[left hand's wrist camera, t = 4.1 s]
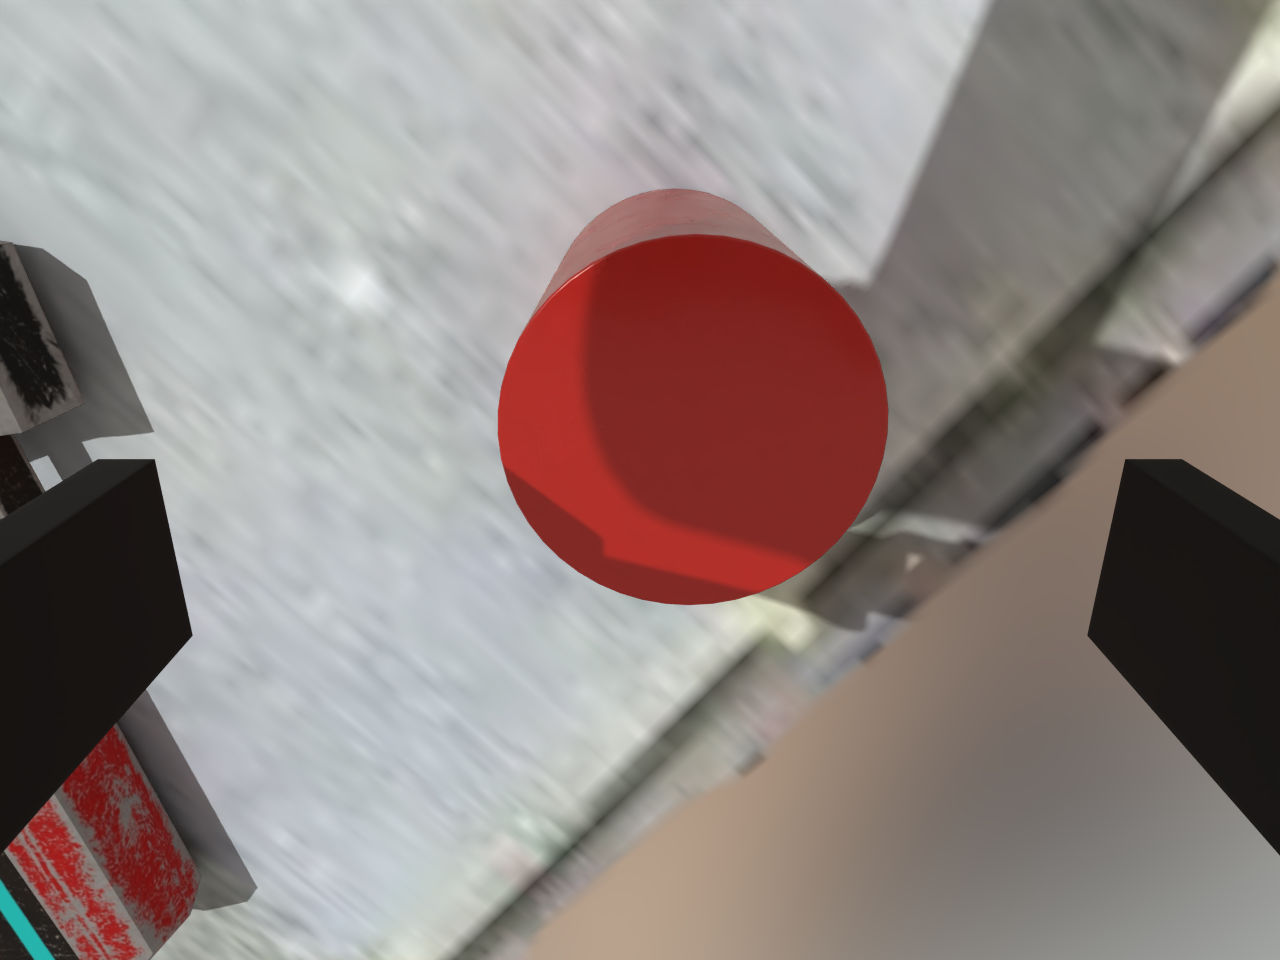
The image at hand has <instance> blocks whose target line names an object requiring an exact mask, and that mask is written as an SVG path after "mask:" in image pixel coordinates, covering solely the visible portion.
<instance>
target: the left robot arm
mask: <svg viewBox="0 0 1280 960" xmlns="http://www.w3.org/2000/svg"><path fill="white" fill-rule="evenodd" d="M192 636H193V635H192V630H191V626H190V621H189V616H188V612H187V607H186V602H185V598H184V593H183V589H182V584H181V579H180V575H179V570H178V565H177V561H176V556H175V551H174V547H173V542H172V537H171V533H170V528H169V523H168V519H167V514H166V510H165V505H164V500H163V496H162V491H161V486H160V482H159V477H158V472H157V468H156V463H155V459H98V460H96V461H94V462H93V463H91V464H90V465H88V466H86V467H85V468H83V469H82V470H80V471H78V472H77V473H75V474H73V475H72V476H70V477H69V478H67V479H65V480H64V481H62V482H61V483H59V484H57V485H56V486H54V487H52V488H51V489H49V490H48V491H46V492H44V493H43V494H41V495H39V496H38V497H36V498H35V499H33V500H31V501H30V502H28V503H27V504H25V505H23V506H22V507H20V508H18V509H17V510H15V511H14V512H12V513H10V514H9V515H7V516H5V517H4V518H2V519H1V520H0V855H1V854H2V853H3V852H4V850H5V849H6V848H7V847H8V846H9V845H10V844H11V842H12V841H13V840H14V839H15V838H16V837H17V836H18V834H19V833H20V832H21V831H22V830H23V829H24V828H25V826H26V825H27V824H28V823H29V822H30V821H31V820H32V818H33V817H34V816H35V815H36V814H37V813H38V812H39V810H40V809H41V808H42V807H43V806H44V805H45V804H46V802H47V801H48V800H49V799H50V798H51V797H52V796H53V794H54V793H55V792H56V791H57V790H58V789H59V788H60V786H61V785H62V784H63V783H64V782H65V781H66V780H67V778H68V777H69V776H70V775H71V774H72V773H73V772H74V770H75V769H76V768H77V767H78V766H79V765H80V764H81V762H82V761H83V760H84V759H85V758H86V757H87V756H88V754H89V753H90V752H91V751H92V750H93V749H94V748H95V746H96V745H97V744H98V743H99V742H100V741H101V740H102V738H103V737H104V736H105V735H106V734H107V733H108V732H109V730H110V729H111V728H112V727H113V726H114V725H115V724H116V722H117V721H118V720H119V719H120V718H121V717H122V716H123V714H124V713H125V712H126V711H127V710H128V709H129V708H130V706H131V705H132V704H133V703H134V702H135V701H136V700H137V698H138V697H139V696H140V695H141V694H142V693H143V692H144V690H145V689H146V688H147V687H148V686H149V685H150V684H151V682H152V681H153V680H154V679H155V678H156V677H157V676H158V674H159V673H160V672H161V671H162V670H163V669H164V668H165V666H166V665H167V664H168V663H169V662H170V661H171V660H172V658H173V657H174V656H175V655H176V654H177V653H178V652H179V650H180V649H181V648H182V647H183V646H184V645H185V644H186V642H187V641H188V640H189V639H190V638H191V637H192ZM1088 637H1089V638H1090V639H1091V640H1092V641H1093V642H1094V644H1095V645H1096V646H1097V647H1098V648H1099V649H1100V650H1101V652H1102V653H1103V654H1104V655H1105V656H1106V657H1107V658H1108V660H1109V661H1110V662H1111V663H1112V664H1113V665H1114V666H1115V668H1116V669H1117V670H1118V671H1119V672H1120V673H1121V674H1122V676H1123V677H1124V678H1125V679H1126V680H1127V681H1128V682H1129V684H1130V685H1131V686H1132V687H1133V688H1134V689H1135V690H1136V692H1137V693H1138V694H1139V695H1140V696H1141V697H1142V698H1143V700H1144V701H1145V702H1146V703H1147V704H1148V705H1149V706H1150V707H1151V709H1152V710H1153V711H1154V712H1155V713H1156V714H1157V716H1158V717H1159V718H1160V719H1161V720H1162V721H1163V722H1164V724H1165V725H1166V726H1167V727H1168V728H1169V729H1170V730H1171V732H1172V733H1173V734H1174V735H1175V736H1176V737H1177V738H1178V739H1179V741H1180V742H1181V743H1182V744H1183V745H1184V746H1185V748H1186V749H1187V750H1188V751H1189V752H1190V753H1191V754H1192V756H1193V757H1194V758H1195V759H1196V760H1197V761H1198V762H1199V764H1200V765H1201V766H1202V767H1203V768H1204V769H1205V770H1206V772H1207V773H1208V774H1209V775H1210V776H1211V777H1212V778H1213V780H1214V781H1215V782H1216V783H1217V784H1218V785H1219V786H1220V788H1221V789H1222V790H1223V791H1224V792H1225V793H1226V794H1227V796H1228V797H1229V798H1230V799H1231V800H1232V801H1233V802H1234V804H1235V805H1236V806H1237V807H1238V808H1239V809H1240V810H1241V812H1242V813H1243V814H1244V815H1245V816H1246V817H1247V818H1248V820H1249V821H1250V822H1251V823H1252V824H1253V825H1254V826H1255V828H1256V829H1257V830H1258V831H1259V832H1260V833H1261V834H1262V836H1263V837H1264V838H1265V839H1266V840H1267V841H1268V842H1269V844H1270V845H1271V846H1272V847H1273V848H1274V849H1275V850H1276V852H1277V853H1278V854H1279V855H1280V520H1279V519H1278V518H1276V517H1275V516H1273V515H1271V514H1270V513H1268V512H1266V511H1265V510H1263V509H1262V508H1260V507H1258V506H1257V505H1255V504H1253V503H1252V502H1250V501H1249V500H1247V499H1245V498H1244V497H1242V496H1241V495H1239V494H1237V493H1236V492H1234V491H1232V490H1231V489H1229V488H1227V487H1226V486H1224V485H1223V484H1221V483H1219V482H1218V481H1216V480H1215V479H1213V478H1211V477H1210V476H1208V475H1206V474H1205V473H1203V472H1202V471H1200V470H1198V469H1197V468H1195V467H1194V466H1192V465H1190V464H1189V463H1187V462H1186V461H1184V460H1182V459H1126V460H1125V463H1124V468H1123V473H1122V477H1121V482H1120V487H1119V491H1118V496H1117V500H1116V505H1115V510H1114V514H1113V519H1112V523H1111V528H1110V533H1109V538H1108V542H1107V547H1106V551H1105V556H1104V561H1103V565H1102V570H1101V575H1100V579H1099V584H1098V589H1097V593H1096V598H1095V602H1094V607H1093V612H1092V616H1091V621H1090V626H1089V630H1088Z"/></svg>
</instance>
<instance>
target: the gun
mask: <svg viewBox="0 0 1280 960" xmlns="http://www.w3.org/2000/svg"><path fill="white" fill-rule="evenodd" d="M83 404H85V402H84V400H83V398H82V396H81V394H80V391H79V389H78V387H77V385H76V383H75V381H74V378H73V376H72V374H71V372H70V370H69V367H68V365H67V363H66V361H65V359H64V356H63V354H62V352H61V350H60V348H59V346H58V343H57V341H56V339H55V337H54V335H53V332H52V330H51V328H50V326H49V324H48V321H47V319H46V317H45V315H44V313H43V310H42V308H41V306H40V304H39V301H38V299H37V297H36V294H35V292H34V290H33V288H32V285H31V283H30V281H29V279H28V276H27V274H26V272H25V270H24V267H23V265H22V263H21V261H20V258H19V256H18V254H17V252H16V249H15V247H14V245H13V243H12V242H5V241H0V520H1V519H2V518H4V517H5V516H7V515H9V514H10V513H12V512H14V511H15V510H17V509H18V508H20V507H22V506H23V505H25V504H27V503H28V502H30V501H31V500H33V499H35V498H36V497H38V496H39V495H41V494H43V493H44V492H45V490H44V488H43V486H42V484H41V483H40V481H39V479H38V477H37V475H36V474H35V472H34V470H33V468H32V466H31V464H30V463H29V461H28V459H27V457H26V455H25V453H24V452H23V450H22V448H21V446H20V444H19V443H18V441H17V439H16V437H15V435H14V434H16V433H23V432H25V431H27V430H29V429H31V428H33V427H36V426H38V425H40V424H42V423H44V422H46V421H48V420H51V419H53V418H55V417H57V416H59V415H61V414H63V413H65V412H68V411H70V410H72V409H74V408H76V407H78V406H80V405H83ZM200 879H201V874H200V873H199V871H198V869H197V867H196V865H195V864H194V862H193V860H192V858H191V856H190V854H189V853H188V851H187V849H186V847H185V845H184V844H183V842H182V840H181V838H180V836H179V835H178V833H177V831H176V829H175V827H174V826H173V824H172V822H171V820H170V818H169V817H168V815H167V813H166V811H165V809H164V808H163V806H162V804H161V802H160V800H159V798H158V797H157V795H156V793H155V791H154V789H153V788H152V786H151V784H150V782H149V780H148V779H147V777H146V775H145V773H144V771H143V770H142V768H141V766H140V764H139V762H138V761H137V759H136V757H135V755H134V753H133V752H132V750H131V748H130V746H129V744H128V742H127V741H126V739H125V737H124V735H123V733H122V732H121V730H120V728H119V726H118V724H117V723H116V724H115V725H114V726H113V727H112V728H111V729H110V730H109V732H108V733H107V734H106V735H105V736H104V737H103V738H102V740H101V741H100V742H99V743H98V744H97V745H96V746H95V748H94V749H93V750H92V751H91V752H90V753H89V754H88V756H87V757H86V758H85V759H84V760H83V761H82V762H81V764H80V765H79V766H78V767H77V768H76V769H75V770H74V772H73V773H72V774H71V775H70V776H69V777H68V778H67V780H66V781H65V782H64V783H63V784H62V785H61V786H60V788H59V789H58V790H57V791H56V792H55V793H54V794H53V796H52V797H51V798H50V799H49V800H48V801H47V802H46V804H45V805H44V806H43V807H42V808H41V809H40V810H39V812H38V813H37V814H36V815H35V816H34V817H33V818H32V820H31V821H30V822H29V823H28V824H27V825H26V826H25V828H24V829H23V830H22V831H21V832H20V833H19V834H18V836H17V837H16V838H15V839H14V840H13V841H12V842H11V844H10V845H9V846H8V847H7V848H6V849H5V850H4V852H3V853H2V854H1V855H0V960H150V959H151V958H152V957H153V956H154V955H155V954H156V953H157V951H158V950H159V949H160V948H161V947H162V946H163V945H164V944H165V942H166V941H167V940H168V939H169V938H170V937H171V936H172V935H173V934H174V932H175V931H176V930H177V929H178V928H179V927H180V926H181V925H182V923H183V922H184V921H185V920H186V919H187V918H188V917H189V916H190V914H191V911H192V907H193V904H194V900H195V897H196V893H197V889H198V886H199V882H200Z"/></svg>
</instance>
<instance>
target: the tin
mask: <svg viewBox="0 0 1280 960" xmlns="http://www.w3.org/2000/svg"><path fill="white" fill-rule="evenodd" d="M887 431H888V402H887V392H886V384H885V380H884V376H883V372H882V368H881V364H880V360H879V358H878V355H877V353H876V350H875V348H874V346H873V343H872V341H871V338H870V336H869V335H868V333H867V331H866V329H865V328H864V326H863V324H862V323H861V321H860V319H859V317H858V316H857V315H856V313H855V312H854V311H853V310H852V308H851V307H850V306H849V304H848V303H847V302H846V301H845V299H844V298H843V297H842V296H841V295H840V294H839V293H838V292H837V291H836V290H835V289H834V288H833V287H832V286H831V285H830V284H829V283H828V282H826V281H825V280H824V279H823V278H822V277H821V276H820V275H819V274H818V273H817V272H815V271H814V270H813V269H812V268H811V267H810V266H809V265H807V264H806V263H805V262H804V261H803V260H802V259H801V258H799V257H798V256H797V255H796V254H795V253H794V252H793V251H791V250H790V249H789V248H788V247H787V246H786V245H785V244H783V243H782V242H781V241H780V240H779V239H778V238H777V237H775V236H774V235H773V234H772V233H771V232H770V231H769V230H767V229H766V228H765V227H764V226H763V225H762V224H761V223H759V222H758V221H757V220H756V219H755V218H754V217H753V216H751V215H750V214H748V213H747V212H746V211H744V210H743V209H741V208H740V207H739V206H737V205H735V204H733V203H731V202H729V201H727V200H725V199H723V198H720V197H717V196H715V195H712V194H709V193H705V192H700V191H695V190H688V189H663V190H655V191H650V192H645V193H641V194H638V195H635V196H633V197H630V198H627V199H625V200H623V201H621V202H619V203H617V204H615V205H613V206H611V207H610V208H608V209H607V210H605V211H604V212H603V213H601V214H600V215H598V216H597V217H596V218H595V219H594V220H593V221H592V222H590V223H589V224H588V225H587V226H586V227H585V228H584V229H583V231H582V232H581V233H580V234H579V235H578V237H577V238H576V239H575V240H574V242H573V243H572V245H571V247H570V248H569V250H568V251H567V253H566V255H565V256H564V258H563V260H562V262H561V264H560V265H559V267H558V269H557V271H556V273H555V274H554V276H553V278H552V280H551V282H550V283H549V285H548V287H547V289H546V291H545V292H544V294H543V296H542V298H541V300H540V301H539V303H538V305H537V307H536V309H535V310H534V312H533V314H532V316H531V318H530V319H529V321H528V323H527V325H526V327H525V328H524V330H523V332H522V334H521V336H520V337H519V339H518V341H517V344H516V346H515V348H514V350H513V353H512V355H511V357H510V359H509V362H508V365H507V368H506V372H505V375H504V379H503V382H502V386H501V392H500V399H499V406H498V440H499V447H500V455H501V460H502V464H503V468H504V471H505V475H506V478H507V482H508V484H509V486H510V489H511V491H512V493H513V496H514V498H515V500H516V503H517V505H518V506H519V508H520V510H521V511H522V513H523V515H524V516H525V518H526V520H527V521H528V523H529V524H530V526H531V527H532V528H533V529H534V531H535V532H536V533H537V534H538V536H539V537H540V538H541V539H542V541H543V542H544V543H545V544H546V545H547V546H548V547H549V548H550V549H551V550H552V551H553V552H554V553H555V554H556V555H557V556H558V557H559V558H561V559H562V560H563V561H565V562H566V563H567V564H568V565H570V566H571V567H572V568H574V569H575V570H576V571H578V572H579V573H581V574H583V575H584V576H586V577H588V578H589V579H591V580H593V581H595V582H596V583H598V584H600V585H602V586H605V587H607V588H609V589H612V590H614V591H616V592H619V593H622V594H625V595H628V596H632V597H635V598H638V599H642V600H647V601H653V602H659V603H664V604H680V605H698V604H713V603H719V602H725V601H730V600H736V599H739V598H743V597H746V596H750V595H753V594H756V593H759V592H762V591H764V590H766V589H769V588H771V587H773V586H776V585H778V584H780V583H782V582H784V581H786V580H787V579H789V578H791V577H793V576H795V575H796V574H798V573H800V572H801V571H803V570H804V569H805V568H807V567H808V566H810V565H811V564H812V563H814V562H815V561H816V560H818V559H819V558H820V557H821V556H822V555H823V554H825V553H826V552H827V551H828V550H829V549H830V548H831V547H832V546H833V545H834V544H835V543H836V542H837V541H838V540H839V539H840V538H841V536H842V535H843V534H844V533H845V532H846V530H847V529H848V528H849V527H850V526H851V524H852V523H853V522H854V520H855V518H856V517H857V515H858V514H859V512H860V511H861V509H862V507H863V506H864V504H865V503H866V501H867V499H868V496H869V494H870V492H871V490H872V488H873V486H874V484H875V482H876V479H877V476H878V472H879V469H880V466H881V463H882V460H883V456H884V450H885V445H886V439H887Z"/></svg>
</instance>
